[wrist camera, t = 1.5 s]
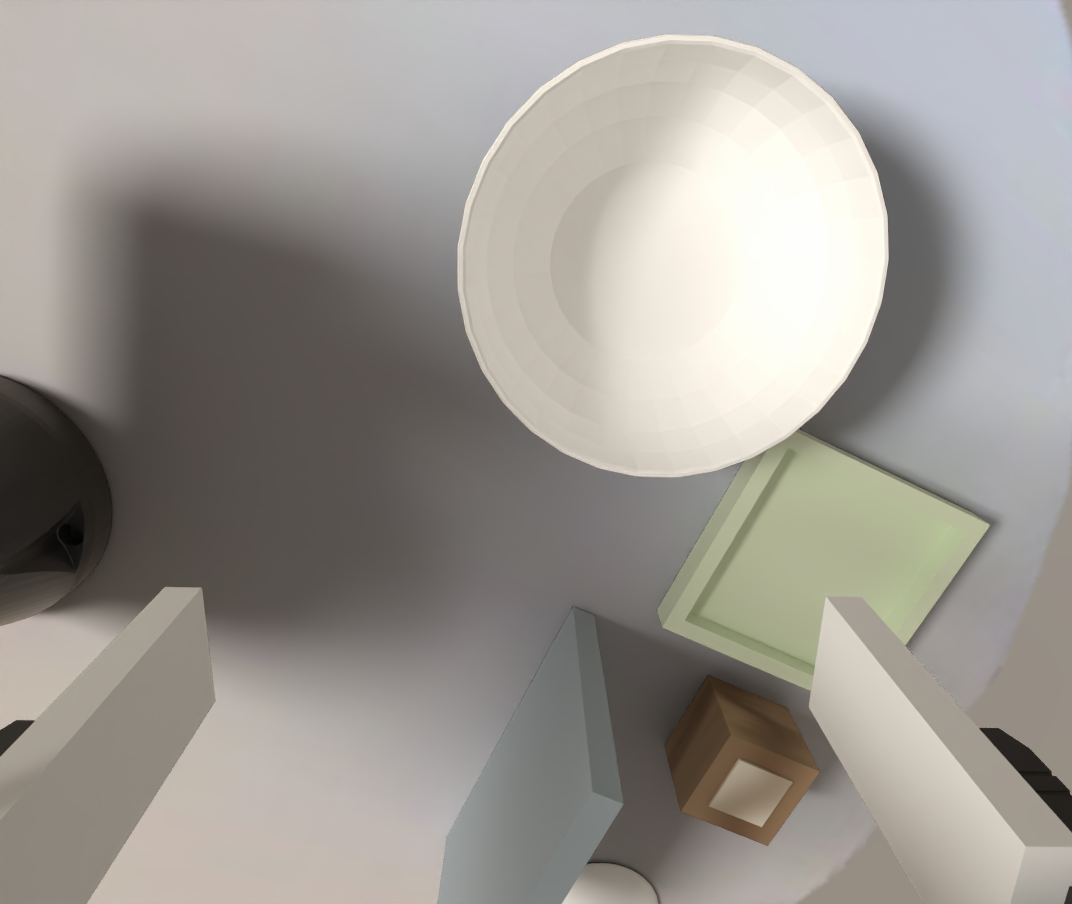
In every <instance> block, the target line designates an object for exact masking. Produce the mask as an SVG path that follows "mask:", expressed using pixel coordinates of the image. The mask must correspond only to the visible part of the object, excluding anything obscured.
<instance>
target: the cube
mask: <svg viewBox="0 0 1072 904" xmlns="http://www.w3.org/2000/svg"><path fill="white" fill-rule="evenodd" d="M664 746H665V750H666V754H667V758H668V762H669V766H670V770H671V774H672V778H673V782H674V786H675V790H676V794H677V798H678V802H679V806H680V810H681V812H683V813H685V814H688V815H691V816H693V817H696V818H698V819H701V820H703V821H706V822H708V823H711V824H713V825H716V826H719V827H721V828H724V829H726V830H729V831H731V832H734V833H736V834H739V835H741V836H744V837H746V838H749V839H752V840H754V841H757V842H759V843H762V844H764V845H767V846H768V845H769V844H770V842H771V841H772V839H773V838H774V836H775V835H776V834H777V832H778V831H779V829H780V828H781V827H782V825H783V824H784V822H785V821H786V819H787V818H788V817H789V815H790V814H791V812H792V811H793V810H794V808H795V807H796V805H797V804H798V803H799V801H800V800H801V798H802V797H803V795H804V794H805V793H806V791H807V790H808V788H809V787H810V786H811V784H812V783H813V781H814V780H815V778H816V777H817V776H818V774H819V773H820V770H819V768H818V766H817V764H816V763H815V761H814V759H813V757H812V755H811V753H810V751H809V749H808V747H807V745H806V743H805V741H804V739H803V737H802V735H801V734H800V732H799V730H798V728H797V726H796V724H795V722H794V720H793V718H792V716H791V714H790V712H789V710H788V708H785V707H783V706H781V705H778V704H776V703H773V702H771V701H769V700H766V699H764V698H762V697H759V696H757V695H755V694H752V693H750V692H747V691H745V690H743V689H740V688H738V687H736V686H733V685H731V684H729V683H726V682H724V681H721V680H719V679H717V678H714V677H712V676H710V675H708V676H707V677H706V679H705V681H704V682H703V684H702V685H701V687H700V689H699V690H698V692H697V693H696V695H695V697H694V698H693V700H692V701H691V703H690V705H689V706H688V708H687V709H686V711H685V713H684V714H683V716H682V717H681V719H680V721H679V722H678V724H677V725H676V727H675V729H674V730H673V732H672V733H671V735H670V737H669V738H668V740H667V741H666V743H665V745H664Z"/></svg>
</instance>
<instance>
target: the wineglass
mask: <svg viewBox="0 0 1072 904" xmlns="http://www.w3.org/2000/svg"><path fill="white" fill-rule="evenodd" d="M562 904H658V899H657V896H656V893H655V891H654V890H653V888H652V886H651V885H650V884H649V883H648V882H647V881H646V880H645V879H644V878H643V877H642V876H641V875H639V874H638V873H636V872H635V871H633V870H631V869H629V868H626V867H623V866H620V865H616V864H610V863H591V864H586V866H585V867H584V869H583V870H582V872H581V874H580V875H579V877H578V878H577V880H576V882H575V883H574V885H573V886H572V888H571V890H570V891H569V893H568V895H567V896H566V898H565V899H564V901H563V903H562Z"/></svg>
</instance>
